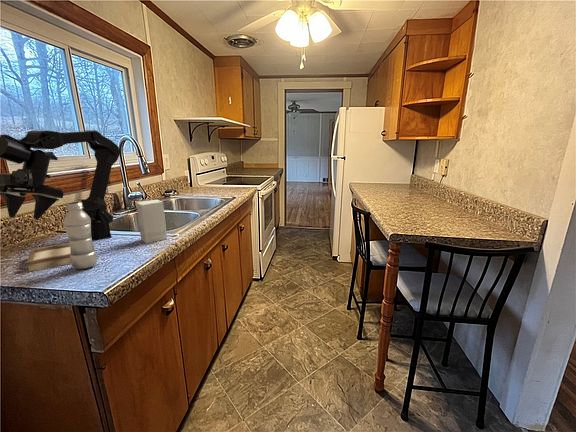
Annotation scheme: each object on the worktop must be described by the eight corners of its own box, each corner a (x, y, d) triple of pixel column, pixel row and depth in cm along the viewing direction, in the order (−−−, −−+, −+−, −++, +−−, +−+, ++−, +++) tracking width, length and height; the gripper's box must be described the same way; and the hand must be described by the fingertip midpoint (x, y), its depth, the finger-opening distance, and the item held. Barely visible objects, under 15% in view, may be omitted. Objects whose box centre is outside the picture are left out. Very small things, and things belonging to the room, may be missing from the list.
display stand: (81, 249, 97) (80, 241, 96) (84, 260, 87) (82, 252, 87) (32, 257, 89) (30, 249, 88) (29, 271, 79) (27, 262, 79)
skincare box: (161, 235, 113) (158, 199, 110) (168, 239, 109) (164, 201, 105) (140, 240, 108) (135, 201, 104) (145, 244, 103) (140, 204, 99)
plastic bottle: (103, 264, 85) (93, 201, 80) (81, 273, 79) (69, 205, 74) (89, 261, 87) (78, 200, 82) (66, 270, 81) (53, 204, 76)
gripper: (-21, 158, 79) (-36, 211, 76) (31, 160, 75) (18, 215, 73) (22, 171, 90) (10, 217, 87) (69, 173, 86) (59, 221, 84)
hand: (23, 218), depth 83 cm, fingers open, 9 cm apart
